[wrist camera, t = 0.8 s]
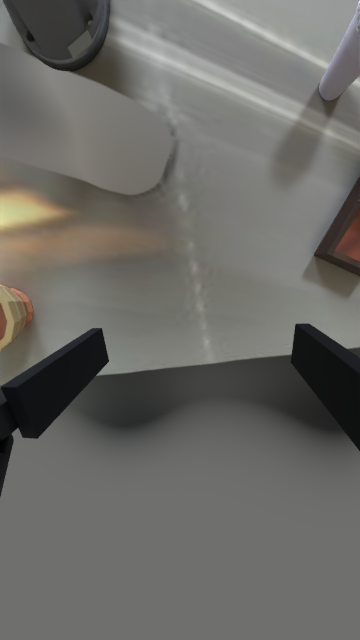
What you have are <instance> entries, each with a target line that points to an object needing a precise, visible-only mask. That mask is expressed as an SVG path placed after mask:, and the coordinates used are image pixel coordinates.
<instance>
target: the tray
mask: <svg viewBox="0 0 360 640" xmlns="http://www.w3.org/2000/svg"><path fill="white" fill-rule="evenodd" d="M314 256H317V257H319V258H321V259H323V260H326V261H328V262H330V263H332V264H334V265H337V266H339V267H341V268H343V269H346V270H348V271H350V272H352V273H354V274H357V275H359V276H360V178H359V179H358V181H357V183H356V184H355V186H354V188H353V190H352V191H351V193H350V195H349V196H348V198H347V200H346V201H345V203H344V205H343V206H342V208H341V210H340V212H339V213H338V215H337V217H336V218H335V220H334V222H333V223H332V225H331V227H330V229H329V230H328V232H327V234H326V235H325V237H324V239H323V240H322V242H321V244H320V245H319V247H318V249H317V251H316V252H315V254H314Z"/></svg>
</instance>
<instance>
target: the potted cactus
mask: <svg viewBox="0 0 360 640" xmlns="http://www.w3.org/2000/svg"><path fill="white" fill-rule="evenodd" d="M33 312H34V311H33V308H32V304H31V301H30V300H29V299H28V297H27V296H26V295H25V294H24V293H23V292H21V291H19V290H17V289H14V288H7V287H5V286H3V285H1V284H0V350H2V349H3V348H5V347H6V346H7V345H8V344H9V343H11V342H12V341H13V340H14V339H15V338H16V337H17V333H18V332H19V331H21V330H22V329H23V328H24V326H26V325H27V324H28V323H29V322H30V321H31V320H32V316H33Z"/></svg>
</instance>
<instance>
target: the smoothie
mask: <svg viewBox="0 0 360 640" xmlns="http://www.w3.org/2000/svg"><path fill="white" fill-rule="evenodd" d="M359 76H360V0H359V3H358V6H357V9H356V13H355V15H354V17H353V19H352V21H351V23H350V25H349V27H348V29H347V31H346V33H345V35H344V37H343V39H342V41H341V43H340V45H339V47H338V49H337V51H336V53H335V54H334V56H333V58H332V60H331V62H330V64H329V66H328V68H327V70H326V72H325V74H324V76H323V78H322V80H321V82H320V85H319V93H320V95H321V97H322V98H323V99H324V100H327V101H331V100H334V99H336V98H337V97H338V96H339V95H340V94H341V93H342V92H343V91H344V90H345V89H346V88H347V87H348V86H349V85H350V84H351V83H352V82H354V81H355V80H356V79H357V78H358V77H359Z"/></svg>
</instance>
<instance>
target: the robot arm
mask: <svg viewBox="0 0 360 640" xmlns="http://www.w3.org/2000/svg"><path fill="white" fill-rule="evenodd" d="M3 2H4V4H5V6H6V8H7V10H8V13H9V15H10V17H11V19H12V21H13V23H14V25H15V27H16V29H17V31H18V32H19V34H20V36H21V37H22V39H23V40H24V41H25V43H26V44H27V45H28V47H29V48H30V49H31V51H32V52H33V53H34V54H35V55H36V57H37V58H38V59H39V60H41V61H42V62H43V63H44V64H46V65H48V66H49V67H52V68H54V69H57V70H61V71H71V70H75V69H78V68H80V67H83V66H84V65H86V64H87V63H88V62H89V61H90V60H91V59H92V58H93V57H94V56H95V55H96V54H97V52H98V50H99V49H100V47H101V45H102V43H103V41H104V38H105V35H106V32H107V28H108V22H109V10H110V5H109V0H3ZM108 362H109V359H108V354H107V350H106V345H105V341H104V336H103V331H102V328H92V329H91V330H89V331H87V332H86V333H84V334H83V335H81V336H80V337H78V338H76V339H75V340H73V341H72V342H70V343H69V344H67V345H65V346H64V347H62V348H61V349H59V350H58V351H56V352H54V353H53V354H51V355H50V356H48V357H47V358H45V359H43V360H42V361H40V362H39V363H37V364H36V365H34V366H32V367H31V368H29V369H28V370H26V371H25V372H23V373H21V374H20V375H18V376H17V377H15V378H14V379H12V380H10V381H9V382H7V383H6V384H4V385H3V386H1V388H0V496H1V492H2V488H3V483H4V479H5V475H6V470H7V467H8V462H9V458H10V453H11V449H12V445H13V441H14V440H13V436H12V434H11V433H12V432H13V431H15V430H16V429H17V428H19V430H20V432H21V435H22V437H23V438H36V439H37V438H39V436H40V435H41V434H42V433H43V432H44V431H45V430H46V429H47V428H48V427H49V426H50V425H51V423H52V422H53V421H54V420H55V419H56V418H57V417H58V416H59V415H60V414H61V413H62V412H63V411H64V409H65V408H66V407H67V406H68V405H69V404H70V403H71V402H72V401H73V399H75V397H76V396H77V395H78V394H79V393H80V392H81V391H82V390H83V389H84V388H85V387H86V386H87V385H88V384H89V382H90V381H91V380H92V379H93V378H94V377H95V376H96V375H97V374H98V373H99V372H100V371H101V369H102V368H103V367H104V366H105V365H106V364H107V363H108ZM291 363H292V364H293V365H294V367H295V368H296V370H297V371H298V372H299V373H300V375H301V376H302V377H303V379H304V380H305V381H306V383H307V384H308V385H309V386H310V388H311V389H312V390H313V392H314V393H315V394H316V395H317V397H318V398H319V399H320V400H321V402H322V403H323V404H324V406H325V407H326V408H327V410H328V411H329V412H330V413H331V414H332V416H333V417H334V418H335V420H336V421H337V422H338V424H339V425H340V426H341V427H342V429H343V430H344V431H345V433H346V434H347V435H348V436H349V438H350V439H351V440H352V442H353V443H354V444H355V446H356V447H357V448H358V449H359V451H360V358H359V357H358V356H356V355H355V354H353V353H352V352H350V351H349V350H347V349H346V348H344V347H343V346H341V345H340V344H339V343H337V342H336V341H334V340H333V339H331V338H330V337H328V336H327V335H325V334H324V333H322V332H321V331H319V330H318V329H316V328H315V327H313V326H312V325H310V324H296V325H295V333H294V341H293V349H292V358H291Z"/></svg>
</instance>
